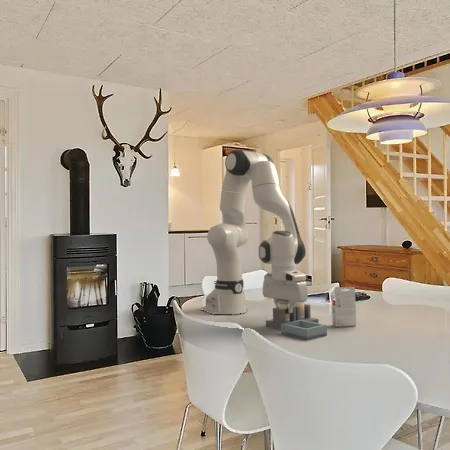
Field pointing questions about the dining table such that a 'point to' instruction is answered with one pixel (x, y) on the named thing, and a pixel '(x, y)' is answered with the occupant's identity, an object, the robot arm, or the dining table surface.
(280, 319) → the fuse holder
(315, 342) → the dining table surface
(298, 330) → the parts tray
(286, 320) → the cylinder
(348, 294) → the ink box
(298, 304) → the cylinder
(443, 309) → the dining table surface
